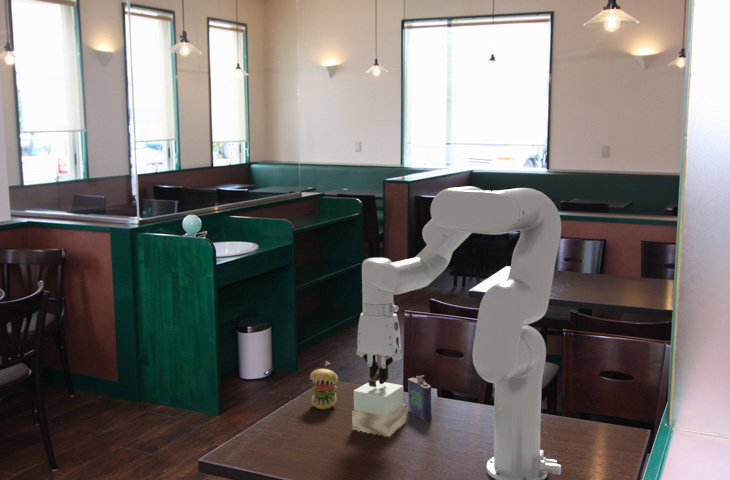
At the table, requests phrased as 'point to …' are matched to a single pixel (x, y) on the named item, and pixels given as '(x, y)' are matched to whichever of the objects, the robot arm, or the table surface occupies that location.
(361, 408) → the top block
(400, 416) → the bottom block
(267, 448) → the table surface
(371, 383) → the wooden post with brackets
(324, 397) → the hamburger
